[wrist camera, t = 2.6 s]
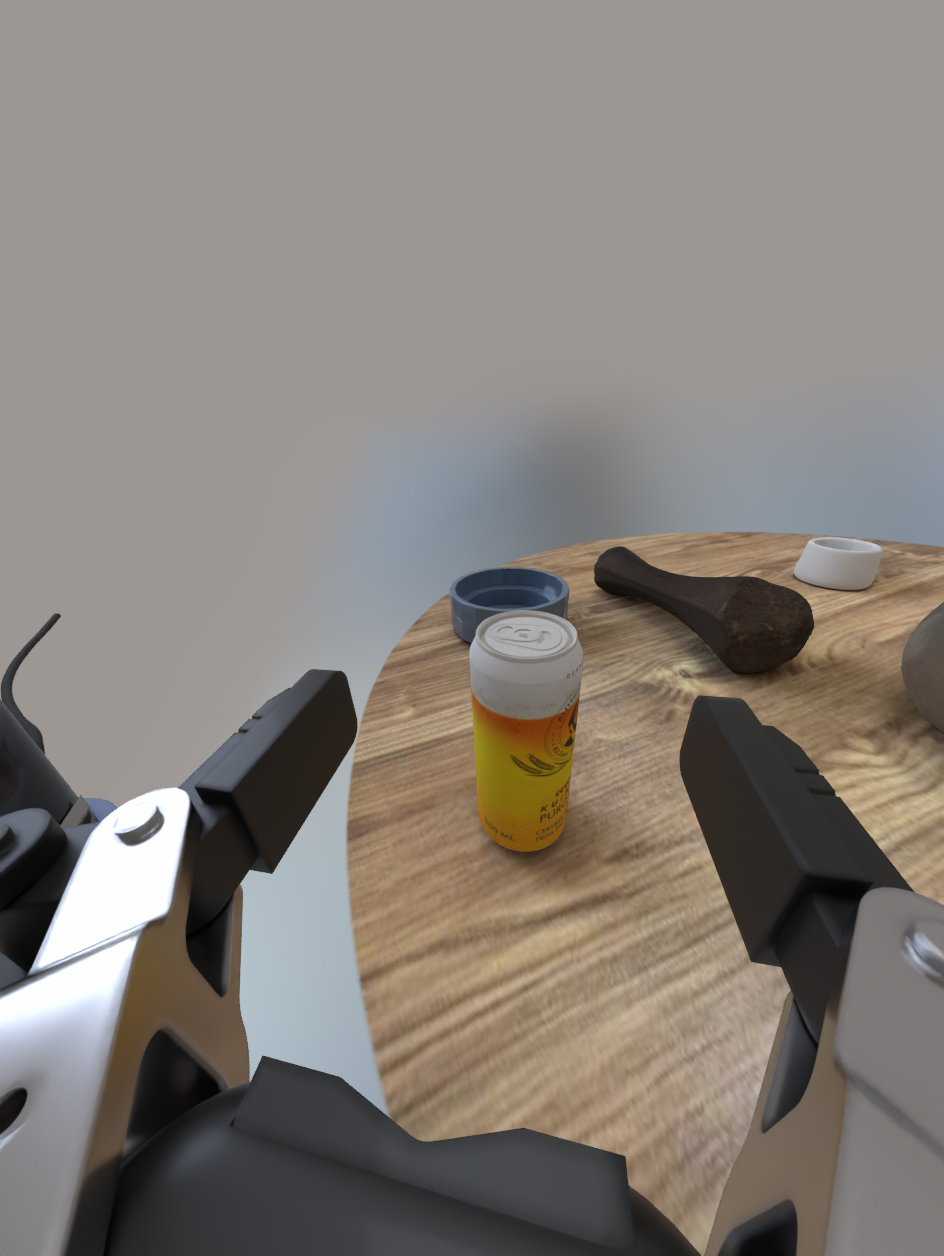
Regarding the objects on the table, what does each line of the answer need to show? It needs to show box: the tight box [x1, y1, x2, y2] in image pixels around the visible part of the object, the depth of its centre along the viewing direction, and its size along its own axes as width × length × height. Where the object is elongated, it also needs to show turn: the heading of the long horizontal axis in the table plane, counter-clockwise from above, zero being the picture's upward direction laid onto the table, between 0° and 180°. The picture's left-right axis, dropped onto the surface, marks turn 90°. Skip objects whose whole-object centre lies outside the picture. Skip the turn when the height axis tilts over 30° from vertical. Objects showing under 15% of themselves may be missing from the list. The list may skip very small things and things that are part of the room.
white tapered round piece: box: [794, 537, 883, 590], centre depth 61 cm, size 12×10×6 cm
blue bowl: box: [450, 567, 569, 643], centre depth 51 cm, size 15×15×6 cm
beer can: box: [469, 610, 584, 852], centre depth 23 cm, size 6×6×15 cm
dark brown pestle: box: [594, 547, 814, 673], centre depth 50 cm, size 11×10×28 cm
